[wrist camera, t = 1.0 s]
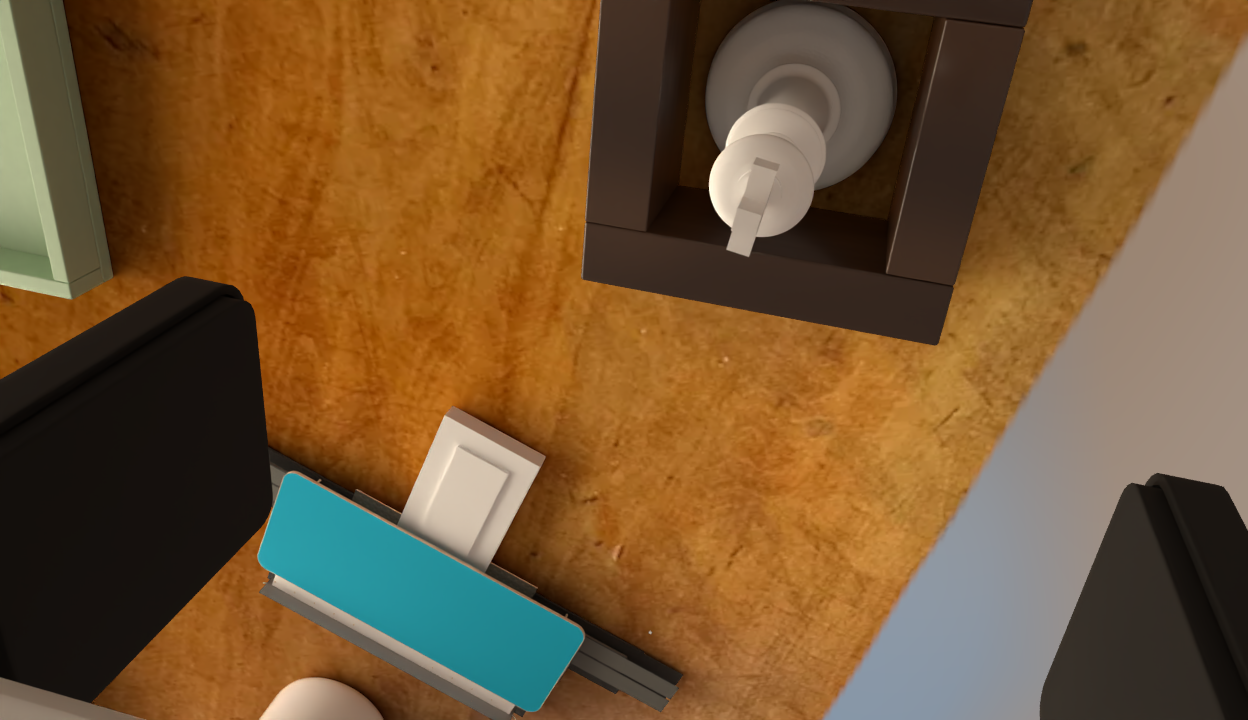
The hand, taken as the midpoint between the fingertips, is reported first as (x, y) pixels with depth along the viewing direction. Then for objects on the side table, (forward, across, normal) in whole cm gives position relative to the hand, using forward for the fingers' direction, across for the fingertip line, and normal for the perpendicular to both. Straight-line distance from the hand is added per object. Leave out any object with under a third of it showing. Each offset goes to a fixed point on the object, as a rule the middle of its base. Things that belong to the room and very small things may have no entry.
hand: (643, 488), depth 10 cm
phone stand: (+18, +10, +18) cm, 27 cm away
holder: (+18, 0, 0) cm, 18 cm away
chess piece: (+18, 0, 0) cm, 18 cm away
